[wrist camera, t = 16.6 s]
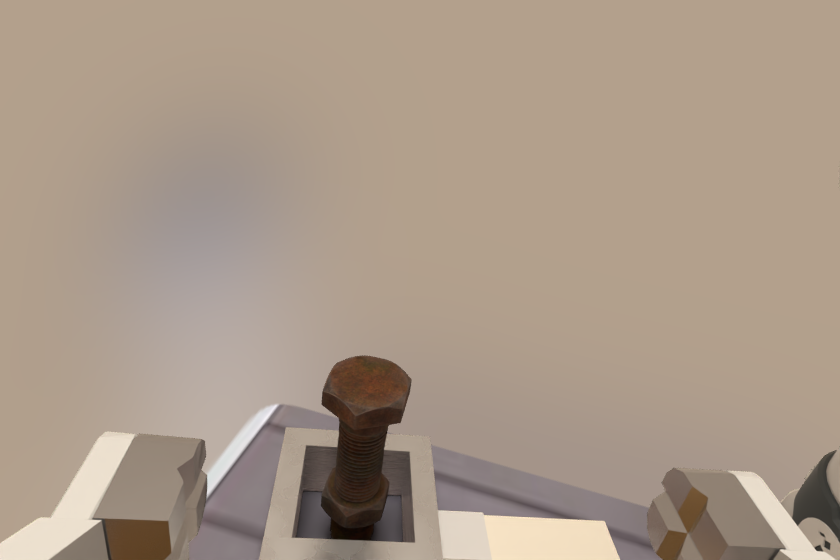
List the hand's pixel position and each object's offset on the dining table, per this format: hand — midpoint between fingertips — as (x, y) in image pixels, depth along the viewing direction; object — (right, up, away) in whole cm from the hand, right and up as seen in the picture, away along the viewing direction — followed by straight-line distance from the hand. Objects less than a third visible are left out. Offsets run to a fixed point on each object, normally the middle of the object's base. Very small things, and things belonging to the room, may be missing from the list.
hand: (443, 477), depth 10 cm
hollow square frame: (-6, -16, +33) cm, 37 cm away
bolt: (-6, -16, +33) cm, 37 cm away
